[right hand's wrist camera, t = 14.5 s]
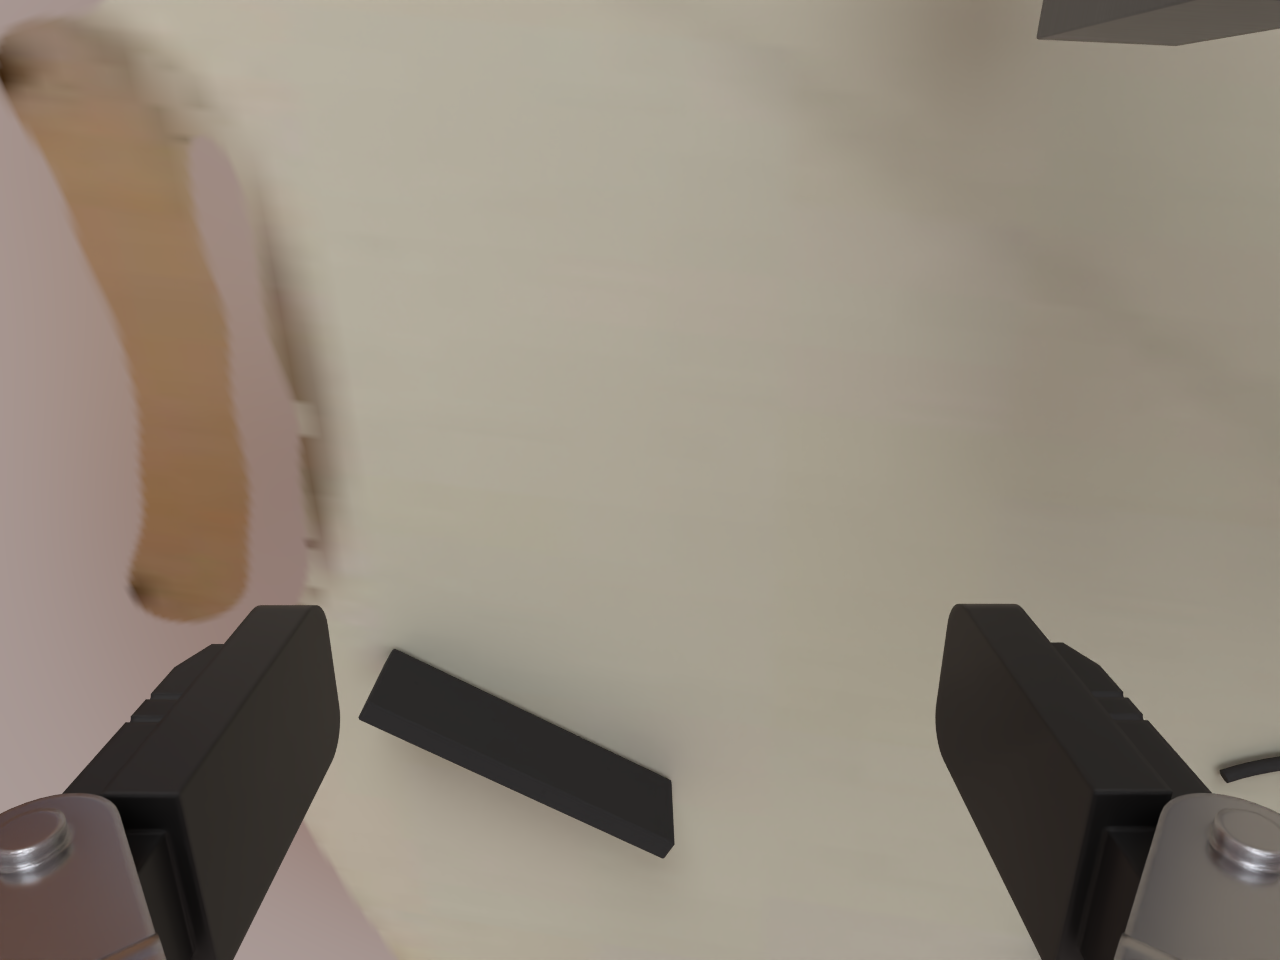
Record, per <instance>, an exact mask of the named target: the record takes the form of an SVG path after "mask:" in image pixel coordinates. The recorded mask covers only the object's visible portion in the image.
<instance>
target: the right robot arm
mask: <svg viewBox="0 0 1280 960" xmlns="http://www.w3.org/2000/svg"><path fill="white" fill-rule="evenodd" d="M339 730H340V709H339V701H338V694H337V687H336V680H335V673H334V666H333V659H332V652H331V645H330V638H329V631H328V624H327V619H326V616H325V613H324V611H323V610H322V608H321V607H320V606H317V605H260V606H257V607H255V608H254V609H253V610H252V611H251V612H250V613H249V615H248V616H247V617H246V618H245V619H244V621H243V622H242V623H241V624H240V625H239V627H238V628H237V629H236V630H235V631H234V633H233V634H232V635H231V636H230V637H229V639H228V640H227V641H226V642H225V643H224V644H211V645H210V646H208V647H206V648H205V649H203V650H202V651H200V652H198V653H197V654H195V655H194V656H192V657H190V658H189V659H187V660H185V661H184V662H182V663H181V664H179V665H177V666H176V667H174V669H173V670H172V671H171V672H170V673H169V674H168V675H167V676H166V678H165V679H164V680H163V681H162V682H161V683H160V684H159V685H158V687H157V688H156V689H155V690H154V691H153V692H152V693H151V698H150V699H148V700H147V699H146V700H145V701H144V702H143V703H142V705H141V706H140V707H139V708H138V709H137V710H136V711H135V712H134V714H133V715H132V716H131V721H130V722H126V723H125V724H124V725H123V726H122V727H121V728H120V729H119V731H118V732H117V733H116V734H115V735H114V736H113V737H112V738H111V739H110V741H109V742H108V743H107V744H106V745H105V746H104V747H103V748H102V750H101V751H100V752H99V753H98V754H97V755H96V756H95V757H94V759H93V760H92V761H91V762H90V763H89V764H88V765H87V766H86V768H85V769H84V770H83V771H82V772H81V773H80V774H79V775H78V777H77V778H76V779H75V780H74V781H73V782H72V783H71V784H70V786H69V787H68V788H67V789H66V790H65V791H64V792H63V794H60V795H53V796H49V797H44V798H40V799H37V800H33V801H30V802H27V803H24V804H22V805H19V806H17V807H14V808H11V809H9V810H7V811H5V812H3V813H1V814H0V960H233V959H234V957H235V955H236V953H237V951H238V949H239V947H240V945H241V943H242V941H243V939H244V937H245V935H246V933H247V931H248V929H249V927H250V925H251V923H252V921H253V919H254V917H255V915H256V913H257V911H258V909H259V907H260V905H261V903H262V901H263V899H264V897H265V895H266V893H267V891H268V889H269V887H270V885H271V883H272V881H273V879H274V877H275V875H276V873H277V871H278V869H279V867H280V865H281V863H282V861H283V859H284V857H285V855H286V853H287V851H288V849H289V847H290V845H291V843H292V841H293V838H294V837H295V835H296V833H297V831H298V829H299V827H300V825H301V823H302V821H303V819H304V817H305V815H306V813H307V811H308V809H309V807H310V805H311V803H312V801H313V799H314V797H315V794H316V792H317V790H318V788H319V786H320V784H321V782H322V780H323V778H324V776H325V774H326V772H327V770H328V768H329V766H330V764H331V762H332V760H333V758H334V755H335V752H336V748H337V744H338V738H339ZM936 733H937V739H938V744H939V748H940V752H941V755H942V757H943V760H944V762H945V764H946V766H947V768H948V770H949V772H950V774H951V776H952V778H953V780H954V782H955V784H956V786H957V788H958V790H959V792H960V794H961V796H962V798H963V800H964V803H965V805H966V807H967V809H968V811H969V813H970V815H971V817H972V819H973V821H974V823H975V825H976V827H977V829H978V831H979V833H980V835H981V837H982V839H983V841H984V843H985V845H986V847H987V849H988V851H989V853H990V855H991V857H992V859H993V861H994V863H995V865H996V867H997V870H998V872H999V874H1000V876H1001V878H1002V880H1003V882H1004V884H1005V886H1006V888H1007V890H1008V892H1009V894H1010V896H1011V898H1012V900H1013V902H1014V904H1015V906H1016V908H1017V910H1018V912H1019V914H1020V916H1021V918H1022V920H1023V922H1024V924H1025V926H1026V928H1027V930H1028V932H1029V935H1030V937H1031V939H1032V941H1033V943H1034V945H1035V947H1036V949H1037V951H1038V953H1039V955H1040V957H1041V959H1042V960H1280V814H1279V813H1277V812H1275V811H1273V810H1271V809H1269V808H1266V807H1263V806H1261V805H1258V804H1256V803H1253V802H1250V801H1247V800H1243V799H1240V798H1236V797H1231V796H1227V795H1220V794H1213V793H1211V791H1210V790H1209V789H1208V788H1207V787H1206V786H1205V785H1204V783H1203V782H1202V781H1201V780H1200V779H1199V778H1198V777H1197V775H1196V774H1195V773H1194V772H1193V771H1192V770H1191V769H1190V768H1189V766H1188V765H1187V764H1186V763H1185V762H1184V761H1183V760H1182V758H1181V757H1180V756H1179V755H1178V754H1177V753H1176V752H1175V751H1174V749H1173V748H1172V747H1171V746H1170V745H1169V744H1168V743H1167V741H1166V740H1165V739H1164V738H1163V737H1162V736H1161V735H1160V733H1159V732H1158V731H1157V730H1156V729H1155V728H1154V727H1153V726H1152V724H1151V723H1150V722H1149V721H1148V720H1143V714H1142V713H1141V712H1140V711H1139V710H1138V708H1137V707H1136V706H1135V705H1134V704H1133V703H1132V702H1131V701H1130V699H1129V698H1124V697H1123V691H1122V690H1121V689H1120V688H1119V687H1118V686H1117V685H1116V683H1115V682H1114V681H1113V680H1112V679H1111V678H1110V677H1109V676H1108V674H1107V673H1106V672H1105V671H1104V670H1103V669H1102V668H1101V666H1100V665H1098V664H1096V663H1095V662H1093V661H1092V660H1090V659H1088V658H1087V657H1085V656H1084V655H1082V654H1080V653H1079V652H1077V651H1076V650H1074V649H1072V648H1071V647H1069V646H1068V645H1066V644H1064V643H1050V641H1049V640H1048V639H1047V638H1046V636H1045V635H1044V634H1043V633H1042V632H1041V630H1040V629H1039V628H1038V627H1037V626H1036V624H1035V623H1034V622H1033V621H1032V619H1031V618H1030V617H1029V616H1028V615H1027V613H1026V612H1025V611H1024V610H1023V609H1022V608H1021V607H1020V606H1019V605H1017V604H957V605H955V606H954V607H953V609H952V610H951V613H950V615H949V619H948V624H947V632H946V639H945V646H944V653H943V660H942V667H941V675H940V682H939V689H938V696H937V703H936ZM1275 771H1280V756H1279V757H1273V758H1268V759H1262V760H1257V761H1252V762H1248V763H1244V764H1240V765H1236V766H1232V767H1229V768H1226V769H1223V770H1220V774H1221V776H1222V777H1223V779H1224V780H1225V781H1226V782H1227V783H1229V782H1232V781H1236V780H1239V779H1242V778H1246V777H1250V776H1254V775H1259V774H1264V773H1270V772H1275Z"/></svg>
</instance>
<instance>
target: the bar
mask: <svg viewBox="0 0 1280 960" xmlns="http://www.w3.org/2000/svg"><path fill="white" fill-rule="evenodd" d="M1279 28H1280V0H1043V5H1042V10H1041V16H1040V21H1039V27H1038V32H1037V39H1042V40H1062V41H1083V42H1104V43H1125V44H1146V45H1167V46H1178V45H1184V44H1190V43H1196V42H1202V41H1208V40H1214V39H1220V38H1226V37H1232V36H1238V35H1244V34H1249V33H1255V32H1261V31H1267V30H1273V29H1279Z"/></svg>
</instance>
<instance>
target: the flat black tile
mask: <svg viewBox="0 0 1280 960" xmlns="http://www.w3.org/2000/svg"><path fill="white" fill-rule="evenodd" d="M359 720H361V721H363V722H366V723H368V724H370V725H372V726H374V727H377V728H379V729H381V730H383V731H385V732H388V733H390V734H392V735H394V736H396V737H398V738H401V739H403V740H405V741H407V742H409V743H412V744H414V745H416V746H418V747H420V748H422V749H425V750H427V751H429V752H431V753H433V754H436V755H438V756H440V757H442V758H444V759H446V760H449V761H451V762H453V763H455V764H457V765H460V766H462V767H464V768H466V769H468V770H471V771H473V772H475V773H477V774H479V775H481V776H484V777H486V778H488V779H490V780H492V781H495V782H497V783H499V784H501V785H503V786H505V787H508V788H510V789H512V790H514V791H516V792H519V793H521V794H523V795H525V796H527V797H529V798H532V799H534V800H536V801H538V802H540V803H543V804H545V805H547V806H549V807H551V808H553V809H556V810H558V811H560V812H562V813H564V814H567V815H569V816H571V817H573V818H575V819H578V820H580V821H582V822H584V823H586V824H588V825H591V826H593V827H595V828H597V829H599V830H602V831H604V832H606V833H608V834H610V835H612V836H615V837H617V838H619V839H621V840H623V841H626V842H628V843H630V844H632V845H634V846H636V847H639V848H641V849H643V850H645V851H647V852H650V853H652V854H654V855H656V856H658V857H660V858H665V856H666V855H667V854H668V852H669V851H670V850H671V848H672V847H673V846H674V825H673V804H672V784H671V780H669V779H667V778H664V777H662V776H660V775H658V774H656V773H654V772H652V771H650V770H648V769H646V768H644V767H641V766H639V765H637V764H635V763H633V762H631V761H629V760H627V759H625V758H623V757H620V756H618V755H616V754H614V753H612V752H610V751H608V750H606V749H604V748H602V747H599V746H597V745H595V744H593V743H591V742H589V741H587V740H585V739H583V738H581V737H579V736H576V735H574V734H572V733H570V732H568V731H566V730H564V729H562V728H560V727H558V726H555V725H553V724H551V723H549V722H547V721H545V720H543V719H541V718H539V717H537V716H534V715H532V714H530V713H528V712H526V711H524V710H522V709H520V708H518V707H516V706H514V705H511V704H509V703H507V702H505V701H503V700H501V699H499V698H497V697H495V696H493V695H490V694H488V693H486V692H484V691H482V690H480V689H478V688H476V687H474V686H472V685H469V684H467V683H465V682H463V681H461V680H459V679H457V678H455V677H453V676H451V675H449V674H446V673H444V672H442V671H440V670H438V669H436V668H434V667H432V666H430V665H428V664H425V663H423V662H421V661H419V660H417V659H415V658H413V657H411V656H409V655H407V654H404V653H402V652H400V651H398V650H396V649H393V650H392V652H391V654H390V655H389V657H388V659H387V661H386V663H385V664H384V666H383V669H382V671H381V673H380V675H379V677H378V679H377V681H376V683H375V685H374V687H373V689H372V691H371V693H370V695H369V697H368V699H367V701H366V703H365V705H364V707H363V709H362V711H361V713H360V715H359Z"/></svg>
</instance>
